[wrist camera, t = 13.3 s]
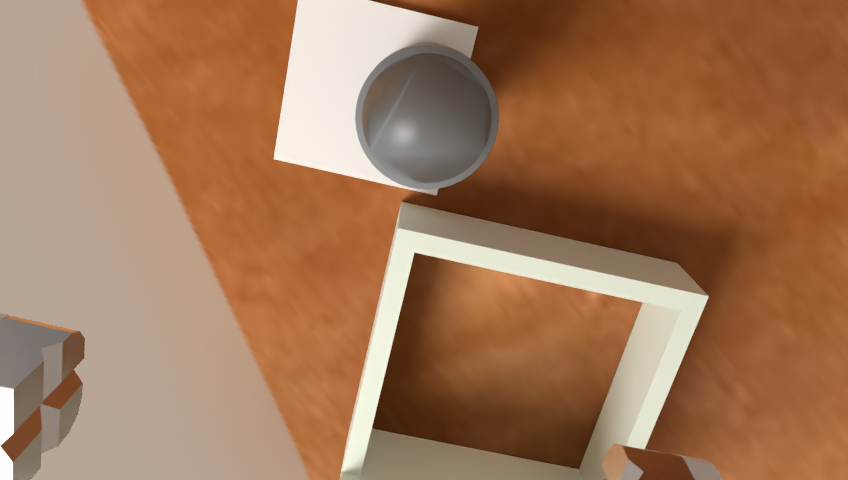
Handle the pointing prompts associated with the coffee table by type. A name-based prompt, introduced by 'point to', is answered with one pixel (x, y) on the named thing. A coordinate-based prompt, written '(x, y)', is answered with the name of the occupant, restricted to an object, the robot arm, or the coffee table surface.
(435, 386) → the coffee table surface
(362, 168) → the mat
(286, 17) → the coffee table surface
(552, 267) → the frame
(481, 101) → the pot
